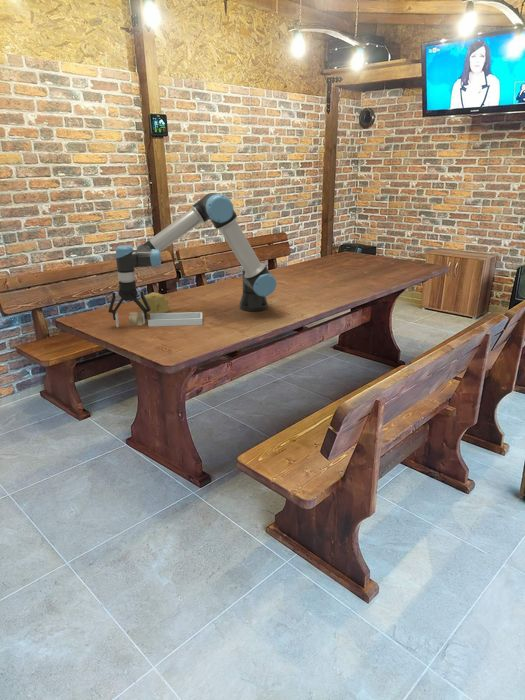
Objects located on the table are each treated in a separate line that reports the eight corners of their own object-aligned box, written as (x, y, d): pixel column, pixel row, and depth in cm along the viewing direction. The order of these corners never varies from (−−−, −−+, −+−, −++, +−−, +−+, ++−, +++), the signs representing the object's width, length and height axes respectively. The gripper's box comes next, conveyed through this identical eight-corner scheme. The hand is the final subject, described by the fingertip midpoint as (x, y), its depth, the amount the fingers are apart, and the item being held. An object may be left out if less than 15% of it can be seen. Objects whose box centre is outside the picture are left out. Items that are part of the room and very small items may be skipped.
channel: (202, 320, 239) (202, 312, 237) (202, 327, 229) (202, 318, 227) (150, 322, 236) (149, 313, 234) (148, 329, 226) (147, 320, 224)
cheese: (169, 313, 250) (168, 294, 246) (155, 319, 241) (154, 299, 237) (154, 310, 255) (153, 291, 251) (139, 315, 246) (138, 296, 242)
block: (143, 312, 231) (130, 312, 230) (141, 316, 226) (128, 316, 225) (144, 324, 233) (131, 324, 233) (142, 328, 228) (129, 328, 227)
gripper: (154, 278, 227) (157, 322, 235) (101, 279, 224) (106, 324, 232) (153, 282, 220) (156, 327, 228) (98, 282, 217) (103, 329, 225)
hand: (131, 326), depth 230 cm, fingers open, 11 cm apart
